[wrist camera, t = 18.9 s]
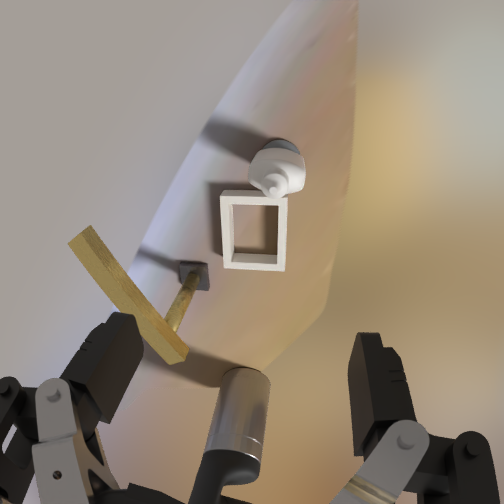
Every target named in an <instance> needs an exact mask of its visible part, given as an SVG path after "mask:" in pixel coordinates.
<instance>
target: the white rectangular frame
mask: <svg viewBox="0 0 504 504" xmlns="http://www.w3.org/2000/svg"><path fill="white" fill-rule="evenodd" d="M287 203H288V194H285V195H284V196H283V197H282V198H281V197H280V198H278V199H272V198H269V197H267V196H265V195H264V193H263V192H262V191H260V190H224V191H223V192H222V194H221V195H220V209H221V226H222V243H223V259H224V268H232V269H249V270H268V271H285V258H286V233H287ZM232 204H248V205H277V206H279V213H278V254H277V255H268V254H248V253H234V230H233V206H232Z"/></svg>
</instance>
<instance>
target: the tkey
mask: <svg viewBox="0 0 504 504" xmlns="http://www.w3.org/2000/svg"><path fill="white" fill-rule="evenodd" d="M68 245H69V246H70V248H71V249H72V251H73V252H74V253H75V255H76V256H77V257H78V259H79V260H80V261H81V263H82V264H83V266H84V267H85V268H86V269H87V271H88V272H89V273H90V275H91V276H92V277H93V279H94V280H95V281H96V282H97V284H98V285H99V286H100V287H101V289H102V290H103V291H104V292H105V294H106V295H107V296H108V297H109V298H110V300H111V301H112V302H113V303H114V305H115V306H116V307H117V308H118V309H119V311H120V312H121V313H127V314H133V315H134V316H135V318H136V322H137V325H138V328H139V332H140V335H141V336H142V337H143V338H144V339H145V340H146V341H147V342H148V343H149V344H150V345H151V347H152V348H153V349H154V350H155V351H156V352H157V353H158V354H159V355H160V356H161V357H162V358H163V359H164V360H165V361H166V362H167V363H168V364H169V365H171V364H175V363H178V362H182V361H185V359H186V356H187V354H188V351H189V348H188V346H187V345H186V344H185V343H184V342H183V341H182V340H181V339H180V338H179V336H178V335H177V334H176V332H177V330H178V328H179V325H180V323H181V321H182V319H183V317H184V314H185V312H186V310H187V308H188V306H189V304H190V301H191V299H192V297H193V295H194V293H195V291H196V289H197V286H198V284H199V282H200V278H199V276H198V275H196V274H194V273H190V274H188V275H187V277H186V279H185V281H184V283H183V285H182V286H181V288H180V290H179V292H178V294H177V296H176V298H175V300H174V301H173V303H172V305H171V307H170V309H169V311H168V313H167V315H166V317H165V319H163V318H162V317H161V316H160V314H159V313H158V312H157V311H156V310H155V308H154V307H153V306H152V305H151V304H150V302H149V301H148V300H147V299H146V297H145V296H144V295H143V294H142V292H141V291H140V290H139V289H138V288H137V286H136V285H135V284H134V282H133V281H132V280H131V279H130V277H129V276H128V275H127V273H126V272H125V271H124V270H123V268H122V267H121V266H120V264H119V263H118V262H117V260H116V259H115V258H114V256H113V255H112V254H111V252H110V251H109V250H108V248H107V247H106V246H105V244H104V243H103V241H102V240H101V239H100V237H99V236H98V234H97V233H96V232H95V230H94V229H93V227H92V226H91V225H90V226H89V227H87V228H86V229H85V230H83V231H82V232H81V233H80V234H78V235H77V236H76V237H75V238H74V239H72V240H71V241H70V242H69V243H68Z"/></svg>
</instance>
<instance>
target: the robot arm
mask: <svg viewBox="0 0 504 504" xmlns="http://www.w3.org/2000/svg"><path fill="white" fill-rule="evenodd" d="M143 351H144V346H143V341H142V338H141V335H140V332H139V328H138V325H137V322H136V318H135V316H134V315H133V314H127V313H120V312H113V313H112V314H111V316H110V317H109V319H108V320H107V321H106V323H101V324H100V325H98V326H97V327H96V328H94V329H93V330H92V331H91V332H90V334H89V335H88V337H87V338H86V339H85V342H83V344H82V345H81V347H80V350H78V351H77V352H76V354H75V355H74V357H73V358H72V360H71V361H70V363H69V364H68V366H67V367H66V369H65V370H64V372H63V373H62V375H61V376H60V377H59V378H52V379H49V380H46V381H45V382H43V383H42V384H41V385H40V386H39V387H38V388H30V387H22V386H21V385H20V383H19V382H18V380H17V379H16V378H14V377H4V378H2V379H0V504H22V503H23V500H24V498H25V495H26V493H27V490H28V488H29V485H30V483H31V480H32V478H33V475H34V473H35V475H36V481H37V486H38V491H39V497H40V501H41V504H185V503H182V502H180V501H178V500H176V499H174V498H172V497H170V496H168V495H166V494H164V493H162V492H160V491H157V490H153V489H149V488H146V487H142V486H138V485H136V484H132V483H129V485H128V488H127V489H120V488H119V485H118V483H117V482H116V480H115V478H114V477H113V475H112V473H111V471H110V469H109V466H108V463H107V460H106V456H105V453H104V450H103V447H102V443H101V439H100V436H99V432H98V429H97V428H96V426H97V424H98V422H99V421H101V422H105V423H108V424H110V422H111V420H112V418H113V416H114V414H115V412H116V410H117V408H118V406H119V404H120V402H121V400H122V398H123V395H124V393H125V391H126V389H127V387H128V385H129V383H130V381H131V379H132V377H133V375H134V373H135V371H136V369H137V367H138V365H139V363H140V361H141V359H142V357H143ZM348 385H349V394H350V406H351V418H352V430H353V446H354V456H364V463H363V465H362V466H361V467H360V469H359V470H358V471H357V472H356V474H355V475H354V476H353V477H352V478H351V480H350V481H349V482H348V483H347V484H346V485H345V486H344V487H343V489H342V490H341V491H340V492H339V493H338V495H336V497H335V498H334V499H333V500H332V501H331V502H330V503H329V504H395V502H396V500H397V498H398V497H399V495H400V494H401V492H402V491H407V492H413V493H417V504H500V499H499V492H498V486H497V480H496V475H495V469H494V464H493V459H492V454H491V450H490V446H489V443H488V441H487V439H486V438H485V437H484V436H483V435H482V434H480V433H478V432H475V431H467V432H464V433H462V434H460V435H459V436H458V437H457V438H456V439H450V438H444V437H438V436H434V435H431V434H429V433H428V432H427V431H426V429H425V428H424V427H423V426H422V425H421V424H419V423H418V422H417V420H416V417H415V413H414V408H413V404H412V399H411V396H410V391H409V387H408V384H407V382H406V376H405V373H404V369H403V365H402V361H401V358H400V356H398V354H397V353H396V352H395V350H394V349H393V348H392V347H387V348H386V347H383V344H382V340H381V337H380V334H379V333H364V332H363V333H360V332H358V333H357V335H356V339H355V342H354V346H353V350H352V354H351V357H350V361H349V365H348ZM269 394H270V381H269V379H268V378H267V377H266V376H265V375H264V374H262V373H261V372H259V371H256V370H253V369H249V368H235V369H232V370H230V371H228V372H226V373H225V374H224V376H223V379H222V383H221V387H220V391H219V394H218V398H217V402H216V406H215V410H214V414H213V418H212V422H211V426H210V430H209V433H208V437H207V442H206V446H205V449H204V453H203V457H202V461H201V464H200V467H199V470H198V473H197V476H196V480H195V483H194V487H193V490H192V493H191V496H190V499H189V502H188V504H252V503H249V502H245V501H241V500H237V499H234V498H230V497H226V496H223V495H221V491H222V488H223V486H226V485H242V484H248V483H251V482H254V481H255V480H256V479H257V478H258V476H259V472H260V464H261V458H262V450H263V442H264V434H265V426H266V418H267V410H268V402H269ZM12 424H14V426H15V427H16V428H17V430H16V432H15V434H14V436H13V438H12V440H11V441H10V443H9V446H8V448H7V450H6V452H5V453H3V451H2V444H3V442H4V440H5V438H6V436H7V434H8V432H9V430H10V428H11V426H12Z"/></svg>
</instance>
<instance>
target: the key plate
mask: <svg viewBox="0 0 504 504" xmlns="http://www.w3.org/2000/svg"><path fill="white" fill-rule="evenodd" d="M179 269H180V276H181V282H182V285H183V283H184V281H185V279H186V277H187V275H188V274H190V273H194V274H196V275H198V276H199V278H200V282H199V284H198V286H197V289H196V290H205V291H208V290H209V288H210V285H209V275H208V264H202V263H186V262H181V263H180V265H179Z"/></svg>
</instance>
